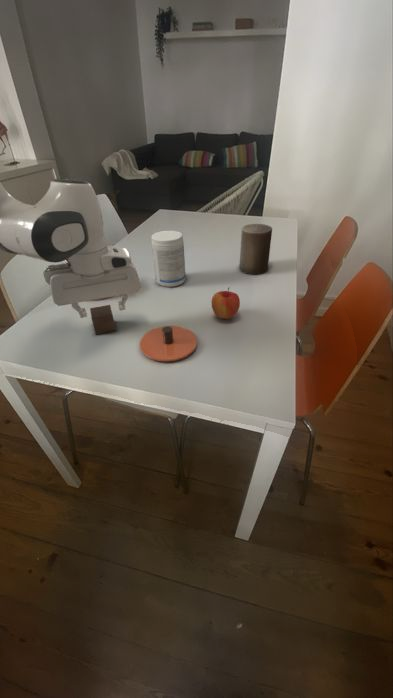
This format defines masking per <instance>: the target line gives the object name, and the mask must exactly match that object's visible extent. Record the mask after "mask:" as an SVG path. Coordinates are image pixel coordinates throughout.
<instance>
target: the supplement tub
mask: <svg viewBox="0 0 393 698" xmlns="http://www.w3.org/2000/svg"><path fill="white" fill-rule="evenodd" d="M150 239H151V248H152V250H151V251H152V259H153V266H154V273H155V281H156V283H157V284H158V285H159V286H162V287H167V288H171V287H172V288H173V287H178V286H180V285H183V284H184V282H185V281H186V261H185V243H184V237H183V233H182V232H179V231H178V230H177V231H176V230H161V231H158V232H155V233H153V234H152V235H151V238H150Z"/></svg>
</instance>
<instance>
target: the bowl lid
mask: <svg viewBox="0 0 393 698" xmlns="http://www.w3.org/2000/svg"><path fill="white" fill-rule="evenodd" d="M197 343H198V340H197V337H196V335H195V334H194V332H193V331H192V330H190V329H188V328H187V327H183V326H178V325H164V326H159V327H155V328H153V329H150V330H148V331H147V332H146V333H145V334H143V336H142V337H141V340H140V341H139V348H140V351H141V353H142V354H143V355H144V356H145V357H147V358H149V359H151V360H153V361H158V362H174V361H179V360H182V359H184V358H186V357H188V356H190V355H191V354H192V353H193V352H194V351H195V350H196V348H197V345H198V344H197Z"/></svg>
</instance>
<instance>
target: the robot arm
mask: <svg viewBox="0 0 393 698" xmlns="http://www.w3.org/2000/svg"><path fill="white" fill-rule="evenodd" d="M49 183H50V184H49V188H48V189H47V191H46V193H45V194H44V196H43V197H42V198H41V199H40V200H39V201H38V202H36V203H35V204H34V205H33V204H28V203H25V202H22V201H20V200H19V199H17V198H15V197H13V196H12V195H11V194H10V193H9V192H8V191H7V189H6V188H5V187H4V185H3V184H2V182H1V181H0V250H1V251H3V252H6V253H8V254H12V255H13V254H14V255H18V256H19V255H20V256H25V257H27V258H32V259H35V260H39V261H44V262H47V263H55V264H50V265H48V266H47V267H46V268H45V269H44V270H43V273H42V275H43V278H44V281H45V283H46V284H48V285H49V287H50V293H51V299H52V302H53V303H54V305H57V306H58V307H62V306H67V305H68V306H69V305H71V307H72V309H74V310H75V311H76V312H77V313H78V314H79V317H80V318H81V319H82V318H87V317H88V314H87V310H86V307H81V306H80V305H79V303H84V302H89V301H97V300H96V299H101V298H105V299H108V298H111V297H117V296H121V299H120V301H117V305H118V309H119V311H126V303H127V301H128V298H129V296H128V295H129V294H135V293H139V292H140V290H141V288H142V283H141V281H140V276H139V274H138V270H137V269H136V266H135V264H134V263H133V261H132V257H131V254H130V253H129V250H128V249H127V248H125V247H122V246H113V245H109V243H108V240H107V238H106V237H105V234H104V219H103V215H102V210H101V205H100V202H99V199H98V196H97V194H96V190H95V189H94V187H93V186H92V184H91V183H89V182H88V180H87V181H86V180H84V179H76V178H55V179H52V180H51V181H50V182H49ZM66 260H68V262H64V261H66ZM56 263H57V264H56ZM107 297H108V298H107ZM101 300H102V299H101Z"/></svg>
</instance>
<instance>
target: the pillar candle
mask: <svg viewBox="0 0 393 698" xmlns="http://www.w3.org/2000/svg"><path fill="white" fill-rule="evenodd" d="M272 235H273V227H272V226H270V225H268V224H265V223H250V224H245V225H243V226H242V227H241V235H240V237H241V238H240V252H239V270H240V272H242V273H245V274H248V275H262V274H265V273H267V272H268V270H269V262H270V255H271V254H270V252H271V243H272Z"/></svg>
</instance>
